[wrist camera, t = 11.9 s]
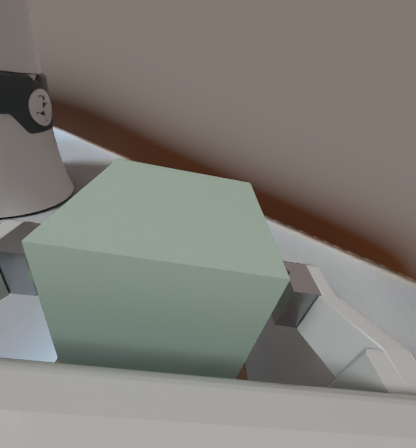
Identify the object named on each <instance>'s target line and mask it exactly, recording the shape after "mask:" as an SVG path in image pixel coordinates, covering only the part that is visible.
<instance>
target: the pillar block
mask: <svg viewBox="0 0 416 448" xmlns="http://www.w3.org/2000/svg"><path fill="white" fill-rule="evenodd" d="M21 242H22V245H23V248H24V251H25V255H26V258H27V261H28V264H29V267H30V270H31V274H32V277H33V280H34V283H35V286H36V290H37V293H38V296H39V299H40V302H41V306H42V309H43V312H44V315H45V318H46V322H47V325H48V328H49V331H50V334H51V337H52V341H53V344H54V347H55V350H56V353H57V357H58V360H59V363H65V364H76V365H86V366H97V367H108V368H119V369H130V370H141V371H152V372H163V373H174V374H185V375H196V376H206V377H217V378H228V379H236V377H237V376H238V374H239V372H240V370H241V368H242V366H243V365H244V363H245V361H246V359H247V357H248V356H249V354H250V352H251V350H252V348H253V346H254V345H255V343H256V341H257V339H258V337H259V335H260V334H261V332H262V330H263V328H264V326H265V324H266V323H267V321H268V319H269V317H270V315H271V313H272V312H273V310H274V308H275V306H276V304H277V303H278V301H279V299H280V297H281V295H282V293H283V292H284V290H285V288H286V286H287V284H288V282H289V281H290V278H289V275H288V273H287V270H286V268H285V266H284V263H283V261H282V258H281V256H280V254H279V251H278V249H277V246H276V244H275V242H274V239H273V237H272V234H271V232H270V230H269V227H268V225H267V222H266V220H265V218H264V215H263V213H262V211H261V208H260V206H259V203H258V201H257V199H256V196H255V194H254V191H253V189H252V186H251V184H250V183H247V182H242V181H236V180H231V179H225V178H220V177H215V176H210V175H204V174H199V173H193V172H188V171H183V170H177V169H172V168H166V167H161V166H156V165H150V164H145V163H139V162H134V161H129V160H123V159H116V160H115V161H114V162H113V163H112V164H111V165H109V166H108V167H107V168H106V169H105V170H104V171H102V172H101V173H100V174H99V175H98V176H97V177H95V178H94V179H93V180H92V181H91V182H90V183H88V184H87V185H86V186H85V187H84V188H83V189H81V190H80V191H79V192H78V193H77V194H76V195H74V196H73V197H72V198H71V199H70V200H69V201H67V202H66V203H65V204H64V205H63V206H62V207H60V208H59V209H58V210H57V211H56V212H55V213H53V214H52V215H51V216H50V217H49V218H47V219H46V220H45V221H44V222H43V223H42V224H40V225H39V226H38V227H37V228H36V229H35V230H33V231H32V232H31V233H30V234H29V235H28V236H26V237H25V238H24V239H23V240H22V241H21Z"/></svg>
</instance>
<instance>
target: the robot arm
mask: <svg viewBox="0 0 416 448" xmlns="http://www.w3.org/2000/svg"><path fill="white" fill-rule="evenodd" d="M52 127H53V115H52V106H51V101H50V94H49V89H48V84H47V79H46V76H45V75H44V74H43V73H41V69H40V63H39V57H38V51H37V45H36V39H35V33H34V27H33V21H32V15H31V9H30V3H29V0H0V218H3V217H12V216H18V215H24V214H29V213H33V212H37V211H41V210H44V209H47V208H50V207H52V206H55V205H57V204H59V203H61V202H62V201H64V200H66V199H67V198H68V197H69V196H70V195H71V194H72V193H73V190H74V185H73V183H72V181H71V179H70V177H69V175H68V173H67V171H66V169H65V166H64V164H63V161H62V158H61V155H60V152H59V149H58V146H57V143H56V139H55V136H54V132H53V128H52ZM39 225H40V224H39V223H33V222H26V221H21V220H15V219H10V220H6V221H4V222H3V223H1V224H0V300H1V299H2V298H4V297H6V296H8V295H9V293H12V294H22V295H33V296H37V295H38V293H37V290H36V286H35V283H34V280H33V277H32V274H31V270H30V267H29V264H28V261H27V258H26V255H25V251H24V248H23V245H22V242H21V241H22V240H23V239H24V238H25V237H26V236H28V235H29V234H30V233H31V232H32V231H33V230H35V229H36V228H37V227H38V226H39ZM283 263H284V266H285V268H286V270H287V273H288V275H289V278H290V281H289V282H288V284H287V286H286V288H285V290H284V292H283V293H282V295H281V297H280V299H279V301H278V303H277V304H276V306H275V308H274V310H273V312H272V316H273V319H274V323H275V325H281V326H288V327H295V328H297V330H298V331H299V333H300V334H301V335H302V336H303V338H304V339H305V340H306V341H307V343H308V344H309V345H310V346H311V347H312V349H313V350H314V351H315V352H316V354H317V355H318V356H319V357H320V359H321V360H322V361H323V362H324V363H325V365H326V366H327V367H328V368H329V370H330V371H331V372H332V373H333V375H334V376H335V377H336V378H335V379H334V380H333V381H332V382H331V383H330V384H329V385H328V387H327V388H325V387H315V386H304V385H293V384H282V383H271V382H260V381H250V380H239V379H228V378H217V377H206V376H196V375H185V374H174V373H163V372H152V371H141V370H130V369H119V368H108V367H97V366H86V365H76V364H65V363H54V362H43V361H32V360H21V359H10V358H0V448H416V359H415V358H414V357H413V355H412V354H411V353H410V352H409V351H408V350H406V349H405V348H404V347H403V346H401V345H400V344H399V343H397V342H396V341H395V340H394V339H392V338H391V337H390V336H388V335H387V334H386V333H385V332H383V331H382V330H381V329H379V328H378V327H377V326H375V325H374V324H373V323H372V322H370V321H369V320H368V319H366V318H365V317H364V316H363V315H361V314H360V313H359V312H357V311H356V310H355V309H354V308H352V307H351V306H350V305H348V304H347V303H346V302H345V301H343V300H342V299H340V298H337V297H336V296H335V294H334V292H333V291H332V289H331V287H330V286H329V284H328V282H327V281H326V279H325V278H324V276H323V274H322V273H321V271H320V269H319V268H318V267H317V266H316V265H310V264H300V263H293V262H286V261H283Z"/></svg>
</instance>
